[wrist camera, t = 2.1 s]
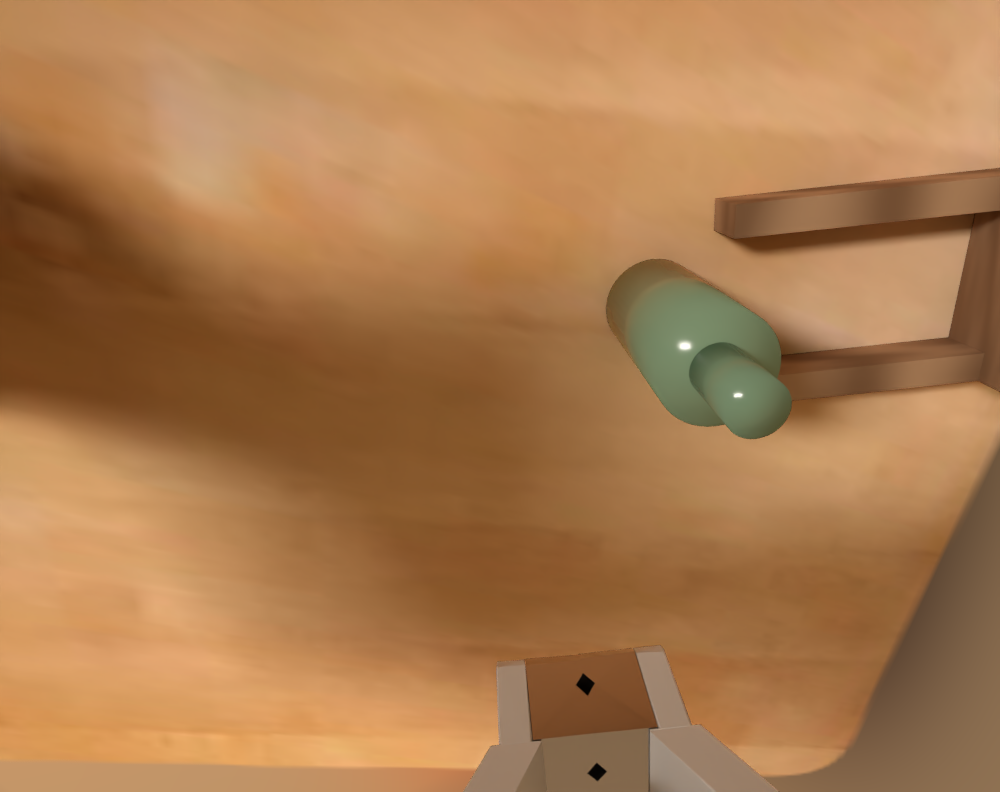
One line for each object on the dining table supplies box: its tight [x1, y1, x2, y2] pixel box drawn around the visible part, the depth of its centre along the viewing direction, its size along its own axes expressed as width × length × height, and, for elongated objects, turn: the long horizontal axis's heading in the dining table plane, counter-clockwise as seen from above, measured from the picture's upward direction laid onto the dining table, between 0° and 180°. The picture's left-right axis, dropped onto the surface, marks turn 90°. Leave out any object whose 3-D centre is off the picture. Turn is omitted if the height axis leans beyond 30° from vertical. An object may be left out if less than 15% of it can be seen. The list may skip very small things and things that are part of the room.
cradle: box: [714, 168, 1000, 401], centre depth 29 cm, size 14×10×4 cm
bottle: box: [606, 259, 792, 439], centre depth 25 cm, size 5×5×12 cm
